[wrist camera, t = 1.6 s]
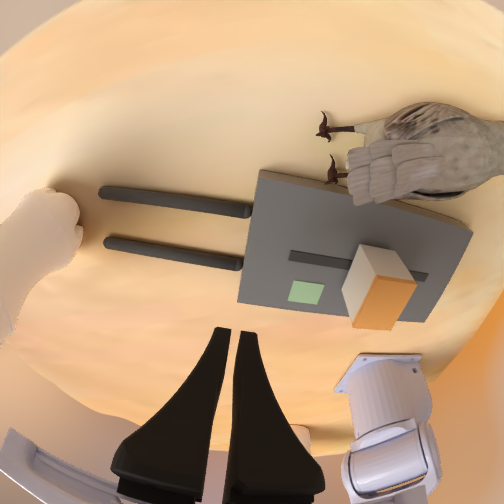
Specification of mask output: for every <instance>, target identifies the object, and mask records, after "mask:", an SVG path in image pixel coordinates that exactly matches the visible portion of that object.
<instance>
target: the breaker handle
mask: <svg viewBox="0 0 504 504" xmlns="http://www.w3.org/2000/svg"><path fill="white" fill-rule="evenodd" d="M416 286H417V283H416V282H415V280H414V278H413V277H412V275H411V274H410V272H409V271H408V269H407V268H406V266H405V265H404V263H403V262H402V260H401V259H400V257H399V256H398V254H397V253H396V251H393V250H388V249H383V248H378V247H373V246H368V245H363V244H359V247H358V250H357V252H356V255H355V257H354V260H353V262H352V265H351V267H350V270H349V272H348V275H347V277H346V280H345V282H344V284H343V287H342V289H341V290H342V293H343V296H344V300H345V303H346V306H347V310H348V313H349V316H350V320H351V323H352V327H353V328H360V329H373V330H389V331H390V330H391V329H392V327H393V326H394V324H395V323H396V321H397V319H398V318H399V316H400V314H401V313H402V311H403V309H404V308H405V306H406V304H407V303H408V301H409V299H410V297H411V296H412V294H413V292H414V290H415V288H416Z"/></svg>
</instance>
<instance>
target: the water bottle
mask: <svg viewBox="0 0 504 504" xmlns="http://www.w3.org/2000/svg"><path fill="white" fill-rule="evenodd" d="M79 215H80V210H79V207H78V204H77V203H76V201H75V200H74V199H73V198H72V197H71V196H69V195H68V194H65V193H56V190H55V189H51V188H42V189H38V190H35V191H33V192H31V193H29V194H27V195H25V196H24V197H23V198H22V199H21V201H20V203H19V204H18V206H17V208H16V209H15V211H14V212H13V213H12V214H11V216H10V217H9V218H7V219H6V220H5V221H4V222H3V223H2V224H0V348H1V346H2V345H3V343H4V342H5V340H6V339H7V338H8V336H10V335H12V334H13V332H14V331H15V329H16V324H17V320H18V316H19V313H20V310H21V307H22V305H23V303H24V301H25V299H26V297H27V295H28V294H29V292H30V291H31V290H32V288H33V287H34V285H35V284H36V283H37V282H38V281H39V280H40V279H42V278H43V277H45V276H46V275H48V274H49V273H51V272H53V271H56V270H59V269H62V268H64V267H66V266H67V265H68V264H69V263H70V261H71V260H72V259H73V257H74V256H75V255H76V253H77V251H78V249H79V247H80V244H81V242H82V238H83V227H82V226H79V225H76V224H77V222H78V219H79Z"/></svg>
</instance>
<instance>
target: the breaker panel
mask: <svg viewBox="0 0 504 504" xmlns="http://www.w3.org/2000/svg"><path fill="white" fill-rule="evenodd" d="M324 184H325V182H321V181H316V180H311V179H306V178H302V177H297V176H291V175H286V174H281V173H275V172H270V171H264V170H259V175H258V181H257V186H256V192H255V198H254V204H253V209H252V215H251V221H250V227H249V233H248V238H247V244H246V250H245V256H244V262H243V268H242V274H241V280H240V286H239V293H238V300H237V302H239V303H245V304H252V305H258V306H265V307H272V308H280V309H287V310H295V311H303V312H311V313H319V314H328V315H337V316H347V317H350V316H349V313H348V310H347V306H346V303H345V300H344V296H343V293H342V290H341V289H342V287H343V284H344V282H345V280H346V277H347V275H348V272H349V270H350V267H351V265H352V262H353V260H354V257H355V255H356V252H357V250H358V247H359V244H363V245H368V246H373V247H378V248H383V249H388V250H393V251H396V253H397V254H398V256H399V257H400V259H401V260H402V262H403V263H404V265H405V266H406V268H407V269H408V271H409V272H410V274H411V275H412V277H413V278H414V280H415V282H416V283H417V286H416V288H415V290H414V292H413V294H412V296H411V297H410V299H409V301H408V303H407V304H406V306H405V308H404V309H403V311H402V313H401V314H400V316H399V318H398V319H397V321H407V322H425V320H426V319H427V317H428V316H429V314H430V313H431V311H432V310H433V308H434V306H435V305H436V303H437V302H438V300H439V298H440V297H441V295H442V293H443V291H444V290H445V288H446V286H447V284H448V283H449V281H450V279H451V277H452V275H453V274H454V272H455V270H456V268H457V266H458V264H459V262H460V260H461V258H462V256H463V254H464V252H465V250H466V248H467V246H468V243H469V241H470V239H471V237H472V235H473V231H471V230H470V229H469V228H468V227H467V226H466V225H465V224H464V223H462V222H461V221H458V220H455V219H453V218H450V217H447V216H444V215H441V214H438V213H435V212H432V211H429V210H426V209H422V208H419V207H416V206H413V205H409V204H406V203H403V202H399V201H396V200H392V199H390V200H387V201H385V202H382V203H378V204H376V203H375V201H372V202H369V203H366V204H363V205H359V206H355V205H354V203H353V196H352V195H351V194H350V193H349V190H348V188H347V187H342V186H338V185H334V184H327V185H324Z"/></svg>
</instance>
